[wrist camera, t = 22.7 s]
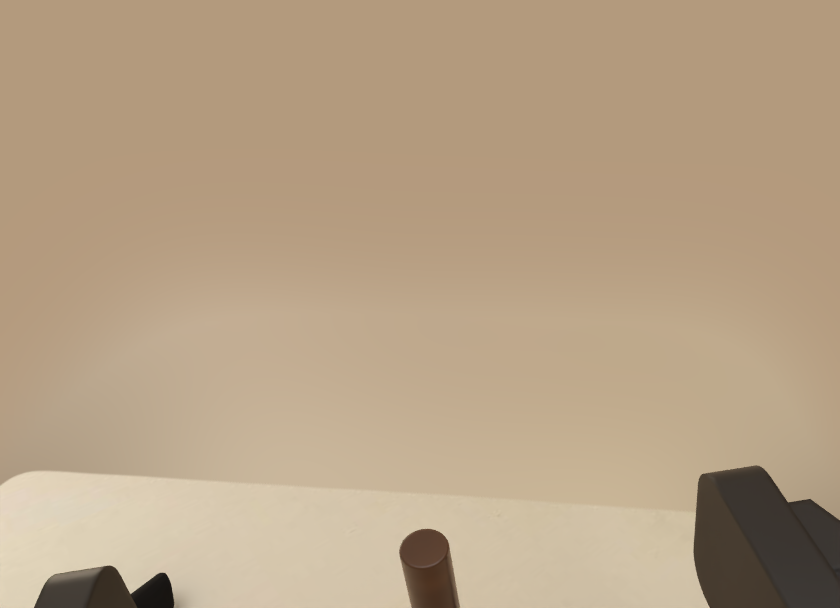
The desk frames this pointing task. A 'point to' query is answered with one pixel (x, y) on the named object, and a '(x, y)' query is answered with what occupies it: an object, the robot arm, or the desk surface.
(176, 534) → the desk surface
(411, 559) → the stick
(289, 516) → the desk surface
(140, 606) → the electric trimmer
